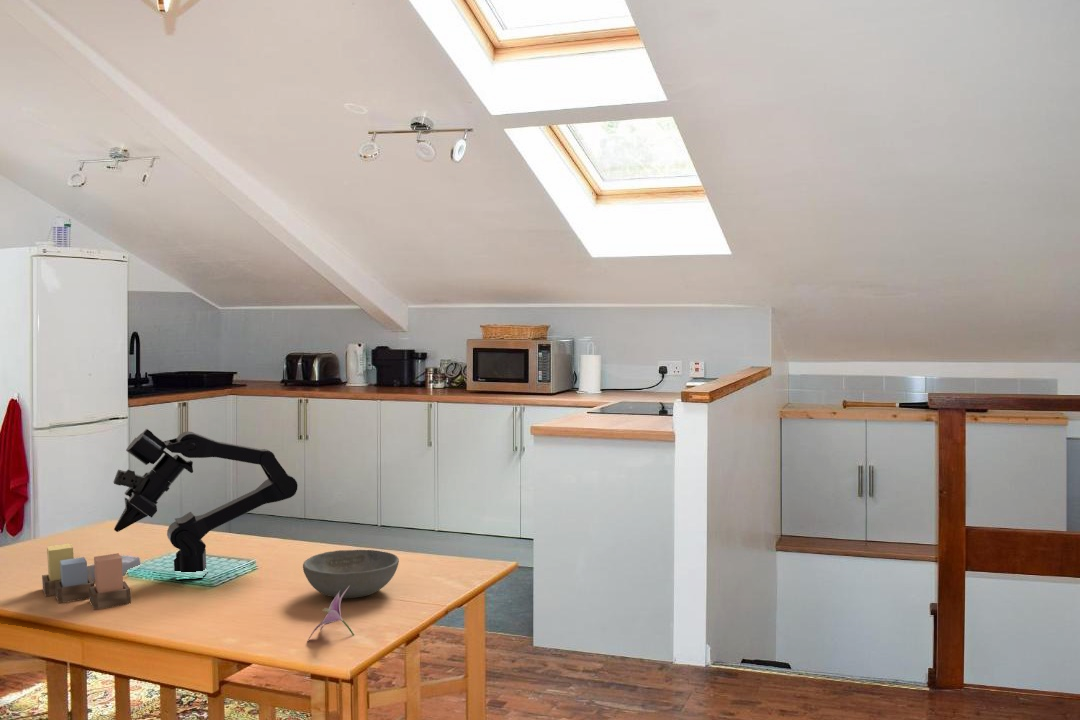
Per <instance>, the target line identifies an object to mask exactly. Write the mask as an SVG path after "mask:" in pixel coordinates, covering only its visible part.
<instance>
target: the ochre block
mask: <svg viewBox="0 0 1080 720" xmlns="http://www.w3.org/2000/svg"><path fill="white" fill-rule="evenodd" d="M46 554H47V558H46V559H47V570H48V574H47V575H48V576H49V580H50V581H54V580H60V579H61V571H60V561H61V560H67V559H74V557H75V556H74V547H73V544H72V543H62V544H55V545H47V546H46Z"/></svg>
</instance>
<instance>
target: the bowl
mask: <svg viewBox="0 0 1080 720" xmlns="http://www.w3.org/2000/svg"><path fill="white" fill-rule="evenodd" d="M399 562H400V559H399V556H397V555H396V554H394V553H391V552H388V551H382V550H381V551H380V550H376V549H343V550H341V549H340V550H333V551H325V552H321V553H318V554H315V555H313V556H311V557H309V558H307V559H306V560H305V561H303V564H302V569H303V570H302V571H303V573H304V576H305V577H306V580H307V581H308V583H309V584H310V585H311V586H312V588H313V589H315V590H316V592H319V593H321V594H323V595H325V596H328V597H332V598H335V597H336V595H337V594H338V592H339V591H340V592H339V599H340V598H341V596H342V594H343V593H344V591H345V590H346V589H347V588H348V587H349V588H348V589H347V591H346V592H345V594H344V595H343V597H342V599H354V598H362V597H366V596H369V595H372V594H374V593H377V592H379V590H382V589H383V588H384V587H385V586H387V585H388V583H390V582H391V580H392V579H393V577H394V576H395V574H396V571H397V569H398V566H399Z"/></svg>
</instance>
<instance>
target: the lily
mask: <svg viewBox="0 0 1080 720" xmlns="http://www.w3.org/2000/svg"><path fill="white" fill-rule="evenodd" d="M348 588H349V587H348ZM348 588H347V589H348ZM347 589H346V590H345V591H344V593H343V594H342V596H341V598H339V592H340V591H339V592H338V594H337V595H336V597H333V600H332V601H331V603H330V604H329V606H328V607H326V606H325V607H323V608H322V609H321V611H322V612H325V613H327V614H326V616H325V617H324V619H322V620H323V621H321V622H320V623H319V624H317V626H316V627H315V628H313V629H314V630H313V631H312V632H311V634H310V636H309V637H308V639H307V641H309V640H310V638H311V637H312V636H313V634H314V633H315V632H316V631H317V630H318V629H319V628H320V631H322V630H323V628H324V626H326V625H328V624H331V623H335V622H338V621H341V622H342V623H343V624H344V625H345V626H346V628H347V630H349V632H350V633H351V635H352V636H355V633H354V632H353V631H352V629H351V627H350V626H349V625H348V623H346V622H345V621H344V620H343V618H342V614H341V602H342V600H343V598H342V597H343V595H344V594H345V592H346V591H347Z"/></svg>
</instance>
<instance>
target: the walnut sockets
mask: <svg viewBox="0 0 1080 720" xmlns="http://www.w3.org/2000/svg"><path fill="white" fill-rule="evenodd" d="M41 579H42V581H41V582H42V591H43V590H44V591H43V593H44V596H46V597H51V595H52V596H55V597H56V601H57V602H58V604H63V602H64V603H68V601H69V602H74V601H75V602H76V601H82V600H85V599H86V598H87V599H89V602H91V603H90V604H92V605H91V607H92V608H94V609H93V610H94V611H95V610H100V609H101V608H102V609H106V607H107V608H112V606H113V607H117V606H118V605H119V606H124V605H129V603H130V604H131V603H132V602H131V601H132V600H131V599H132V595H131V588H130V586H129V585H128V583H127V582H126V581H124V580H123V589H122V590H116V591H110V592H104V593H97V591H96V586H95V581H93V580H92V578H91V576H88V583H87V584H81V585H75V586H69V587H62V588H61V579H60V580H54V581H50V580H49V576H48V574H43V575H42V576H41ZM123 604H124V605H123ZM119 606H118V607H119Z"/></svg>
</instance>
